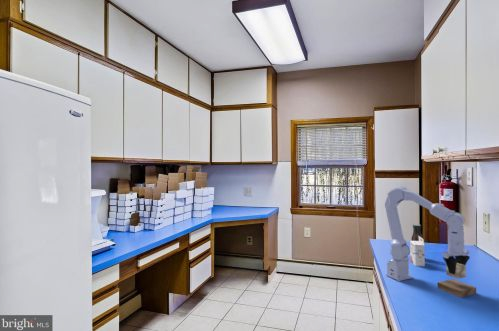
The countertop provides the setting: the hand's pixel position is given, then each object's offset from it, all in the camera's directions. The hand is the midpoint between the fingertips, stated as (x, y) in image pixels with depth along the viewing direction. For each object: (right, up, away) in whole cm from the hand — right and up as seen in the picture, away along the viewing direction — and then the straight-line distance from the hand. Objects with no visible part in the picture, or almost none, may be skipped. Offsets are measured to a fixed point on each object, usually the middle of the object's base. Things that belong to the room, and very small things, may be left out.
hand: (456, 272), depth 127 cm
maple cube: (0, -2, 0) cm, 2 cm away
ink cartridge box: (+3, -8, +34) cm, 35 cm away
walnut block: (0, -9, 0) cm, 8 cm away
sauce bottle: (+8, -8, +43) cm, 44 cm away
